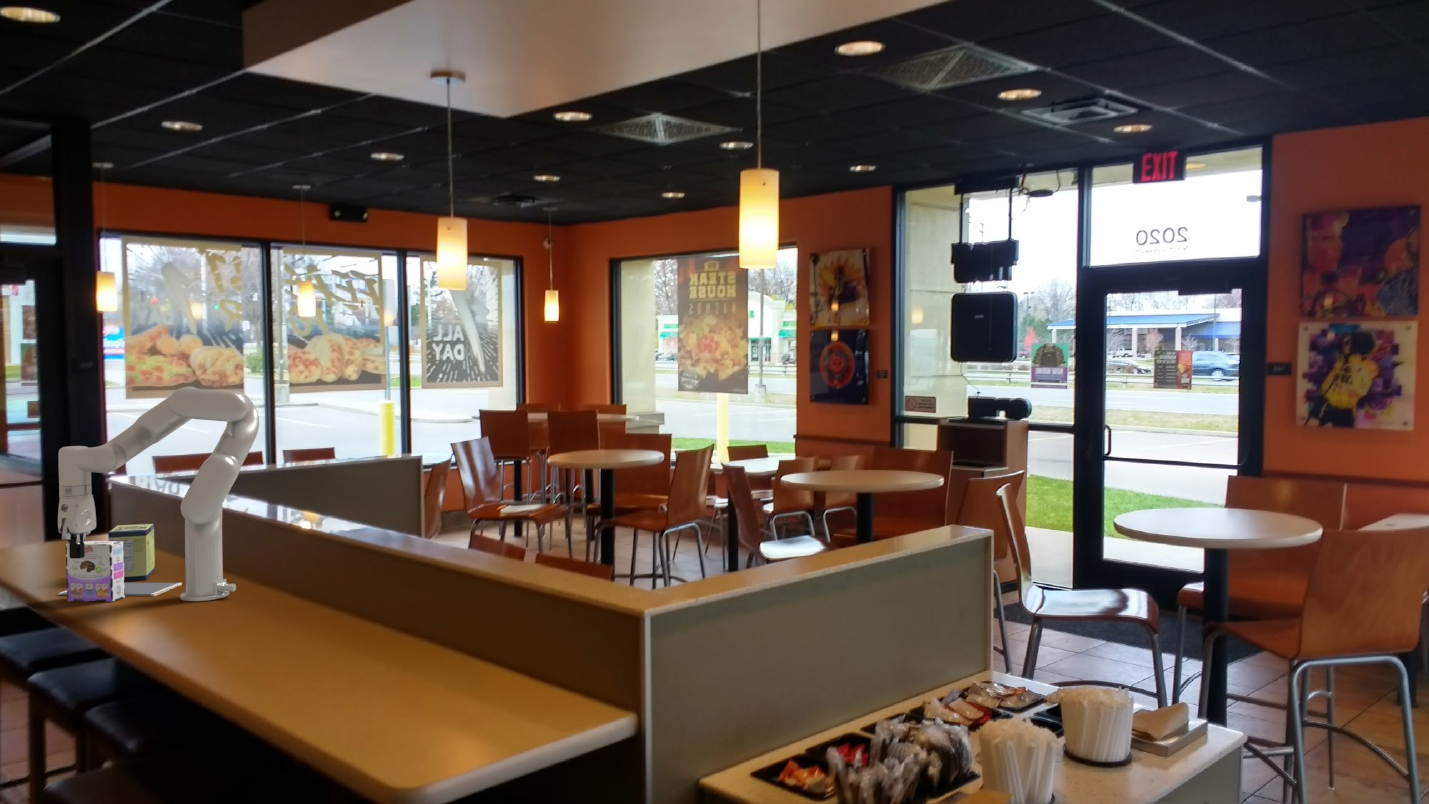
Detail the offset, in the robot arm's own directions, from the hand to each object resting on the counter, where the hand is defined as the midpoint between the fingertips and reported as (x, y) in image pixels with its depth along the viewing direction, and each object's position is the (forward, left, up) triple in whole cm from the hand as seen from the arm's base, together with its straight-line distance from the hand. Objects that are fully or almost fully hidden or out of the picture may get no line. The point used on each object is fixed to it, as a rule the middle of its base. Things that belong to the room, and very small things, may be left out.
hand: (77, 557), depth 285 cm
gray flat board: (0, -20, -13) cm, 24 cm away
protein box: (+8, -39, -14) cm, 42 cm away
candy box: (0, -8, -14) cm, 16 cm away
